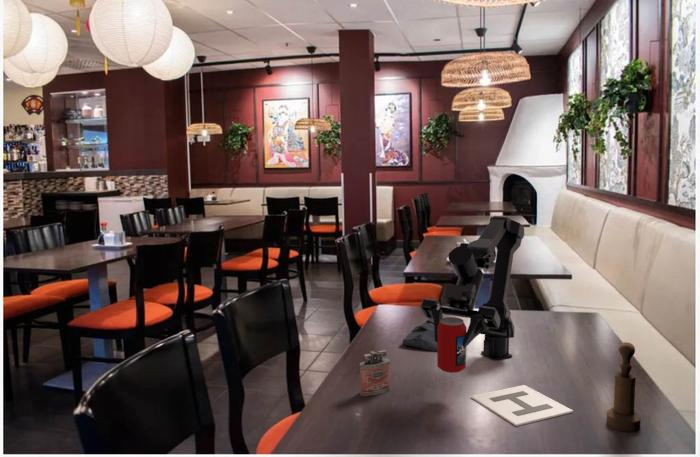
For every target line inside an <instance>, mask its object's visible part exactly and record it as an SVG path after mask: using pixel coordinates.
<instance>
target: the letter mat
mask: <svg viewBox="0 0 700 457" xmlns="http://www.w3.org/2000/svg"><path fill="white" fill-rule="evenodd" d="M470 398H471V399H472V400H474V401H475V402H477V403H479V404H480V405H482V406H483V407H485V408H486V409H488V410H489V411H491V412H493V413H494V414H496V415H497V416H499V417H501V418H502V419H504V420H505V421H507V422H509V423H510V424H511V425H514V426H515V427H518V426H523V425H526V424H530V423H534V422H539V421H544V420H547V419H552V418H555V417H560V416H564V415H568V414H571V413H574V410H573V409H571V408H569V407H567V406H566V405H563V404H562V403H559V402H558V401H556V400H554V399H552V398H550V397H548V396H547V395H544V394H543V393H541V392H538V391H537V390H536V389H533V388H532V387H529V386H527V385H525V384H522V385H518V386H517V385H516V386H512V387H508V388H504V389H499V390H493V391H489V392H484V393H480V394H475V395H471V396H470Z"/></svg>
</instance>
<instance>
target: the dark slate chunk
mask: <svg viewBox="0 0 700 457" xmlns="http://www.w3.org/2000/svg"><path fill="white" fill-rule="evenodd" d="M402 343H403V345H405V346H408V347H413V348H419V349H421V350H427V351H430V352H435V353H437V342H435V332H434V321H433V319H430V318H427V320H425V322H423V323H422V324H421V325H417V326H415V327H414V328H412V330H411V332H409V333H408V334H407V335H406V336H405V337H404V338H403V340H402Z"/></svg>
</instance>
